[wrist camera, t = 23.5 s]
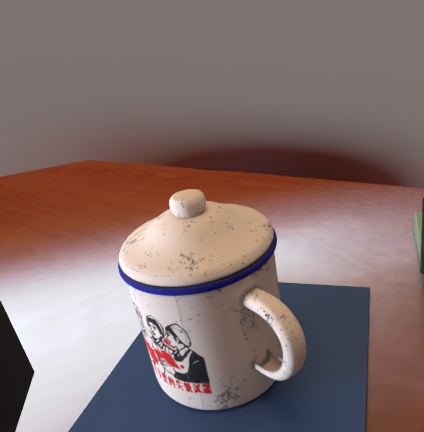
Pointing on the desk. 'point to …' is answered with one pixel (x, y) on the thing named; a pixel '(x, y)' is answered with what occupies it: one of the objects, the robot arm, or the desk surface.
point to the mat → (274, 396)
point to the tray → (418, 236)
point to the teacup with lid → (211, 302)
